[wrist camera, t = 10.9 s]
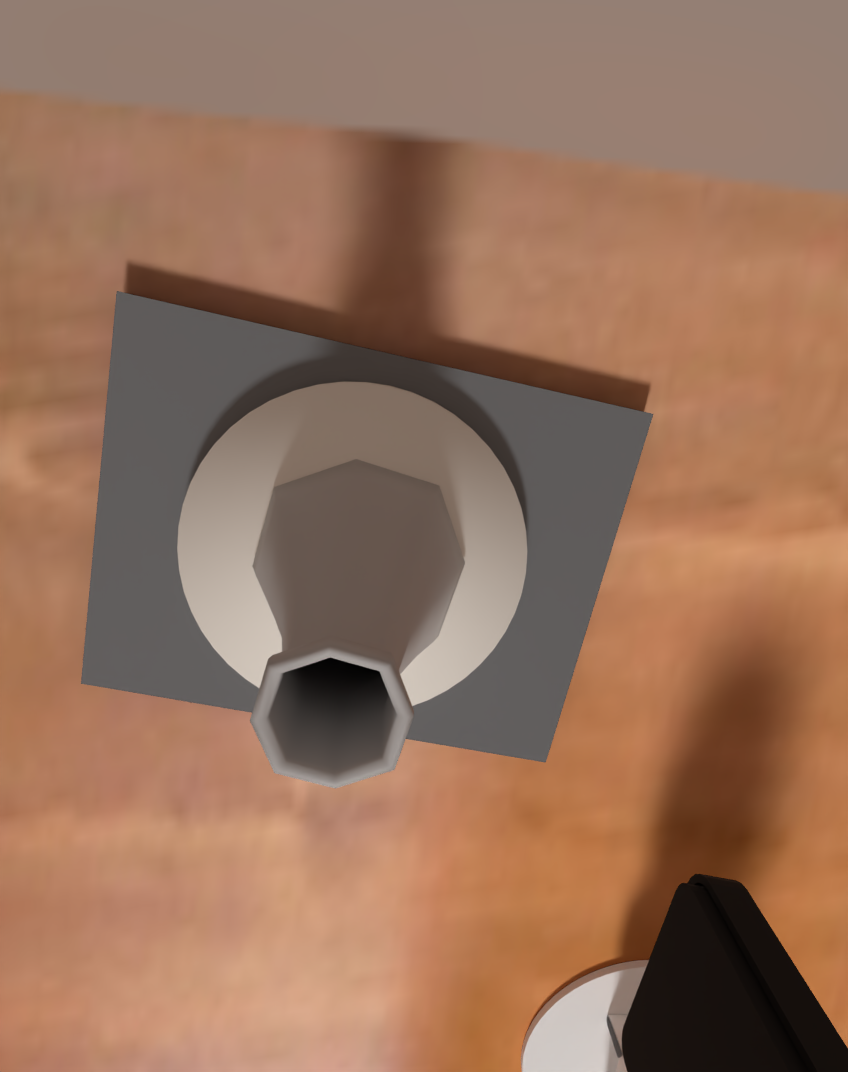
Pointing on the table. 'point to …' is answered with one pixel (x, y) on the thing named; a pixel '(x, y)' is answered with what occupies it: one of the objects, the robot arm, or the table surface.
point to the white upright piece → (584, 1023)
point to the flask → (349, 616)
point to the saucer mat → (318, 444)
